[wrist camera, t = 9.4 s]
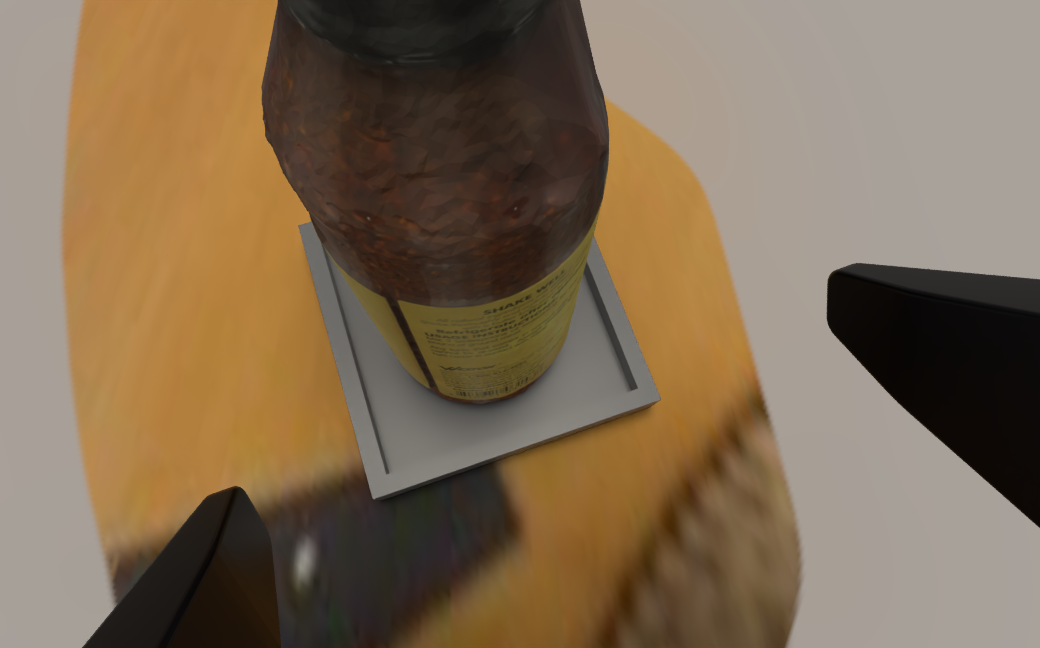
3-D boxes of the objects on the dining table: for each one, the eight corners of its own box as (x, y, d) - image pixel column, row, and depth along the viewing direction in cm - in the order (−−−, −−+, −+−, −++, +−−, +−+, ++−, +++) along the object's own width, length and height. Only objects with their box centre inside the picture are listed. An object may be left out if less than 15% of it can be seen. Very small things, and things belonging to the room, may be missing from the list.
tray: (650, 407, 23) (661, 399, 22) (380, 500, 22) (372, 499, 20) (555, 173, 26) (559, 152, 24) (309, 242, 24) (298, 225, 23)
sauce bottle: (591, 289, 24) (997, -663, 5) (517, 442, 22) (707, -115, 3) (433, 216, 24) (237, -887, 5) (349, 360, 22) (-402, -547, 4)
